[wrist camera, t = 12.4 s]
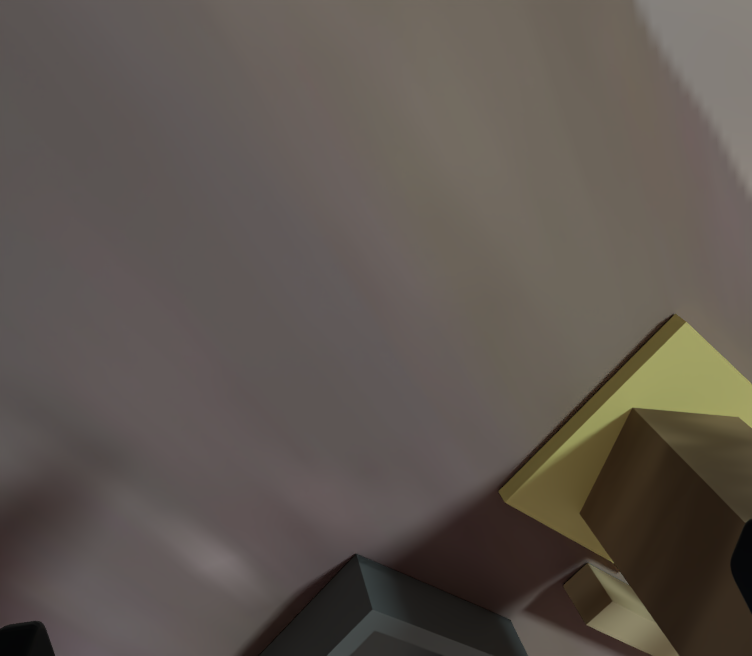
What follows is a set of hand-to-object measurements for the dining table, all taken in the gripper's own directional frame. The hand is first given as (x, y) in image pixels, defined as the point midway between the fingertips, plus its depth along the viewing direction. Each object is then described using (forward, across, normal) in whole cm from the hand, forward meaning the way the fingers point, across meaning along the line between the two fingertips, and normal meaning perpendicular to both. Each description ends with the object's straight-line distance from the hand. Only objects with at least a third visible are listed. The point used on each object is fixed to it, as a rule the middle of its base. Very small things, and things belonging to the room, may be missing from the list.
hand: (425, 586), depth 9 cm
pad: (+13, -13, +10) cm, 21 cm away
